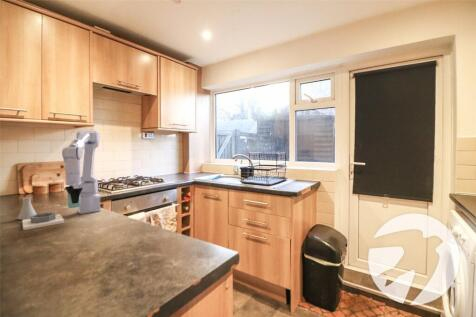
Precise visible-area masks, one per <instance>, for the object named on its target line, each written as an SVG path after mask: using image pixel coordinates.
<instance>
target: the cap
mask: <svg viewBox="0 0 476 317" xmlns="http://www.w3.org/2000/svg"><path fill="white" fill-rule="evenodd" d="M80 206H81V203H80V197H79V202H78V203H74V204H73V203H72V200H71V196H70V194H68V193H67V208H69V209H74V208H79V207H80Z"/></svg>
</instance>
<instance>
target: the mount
mask: <svg viewBox="0 0 476 317" xmlns="http://www.w3.org/2000/svg"><path fill="white" fill-rule="evenodd" d="M30 218H31V219H24V220H22V229H23V230H22V231H25V230H26V231H27V230H32V229H37V228H42V227H43V228H44V227H49V226H53V225H60V224H64V223H65V219H64V218H63V216H62V215H61V214H60V213H59V214H56V213H55V212H43V213H42V212H41V213H36V215H33V216H30Z"/></svg>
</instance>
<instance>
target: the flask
mask: <svg viewBox="0 0 476 317" xmlns="http://www.w3.org/2000/svg"><path fill="white" fill-rule="evenodd" d="M31 199H32V197H30V196H28V197H27V196H26V197H22V198H21V200H22V206H21V208H20V211H19V214H18V216H17V218H16V220H20V221H21V220H25V219H31V218H30V216H33V215H36V214H37V212H36V211H35V209H34V207H33V205H32V202H31Z"/></svg>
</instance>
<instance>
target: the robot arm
mask: <svg viewBox="0 0 476 317" xmlns="http://www.w3.org/2000/svg"><path fill="white" fill-rule="evenodd" d="M75 136H76V137H75V139H74V140H72V141H71V143H70V144H69V145H68V146H65V147H63V149H62V150H61V151H62V154H61V155H62V159H63V164H64V169H65V172H64V173H65V183H64V184H65V186H64V189H65V190H66V193H67V195H68V194H70V196H71V200H72V203H73V204H74V203H78V202H79V197H80V203H81V206H80V207H78V208H79V210H77V212H78V214H80V215H83V214H89V213H95V212H100V211H101V196H100V193H99V182H98V180H97V179H96V178H95V177H94V176H93V174H94V171H93V170H94V162H95V152H96V148H98V147H99V145H100V133H99V131H98V130H77V131H76V134H75ZM83 152H84V153H83ZM82 157H83V163H82V175H81V159H82Z"/></svg>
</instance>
